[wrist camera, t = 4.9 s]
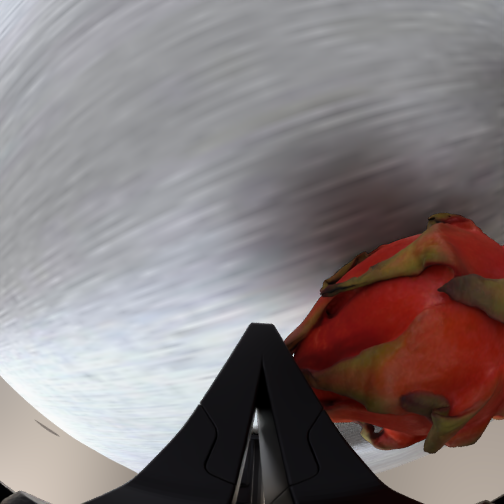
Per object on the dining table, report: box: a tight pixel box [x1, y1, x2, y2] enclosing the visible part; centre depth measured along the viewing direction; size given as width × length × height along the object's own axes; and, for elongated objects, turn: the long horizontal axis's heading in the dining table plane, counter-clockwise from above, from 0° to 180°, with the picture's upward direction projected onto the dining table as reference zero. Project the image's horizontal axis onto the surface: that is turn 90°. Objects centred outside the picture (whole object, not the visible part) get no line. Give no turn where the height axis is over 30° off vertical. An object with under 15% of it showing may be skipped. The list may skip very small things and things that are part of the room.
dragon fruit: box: [284, 213, 504, 454], centre depth 8 cm, size 8×8×12 cm
